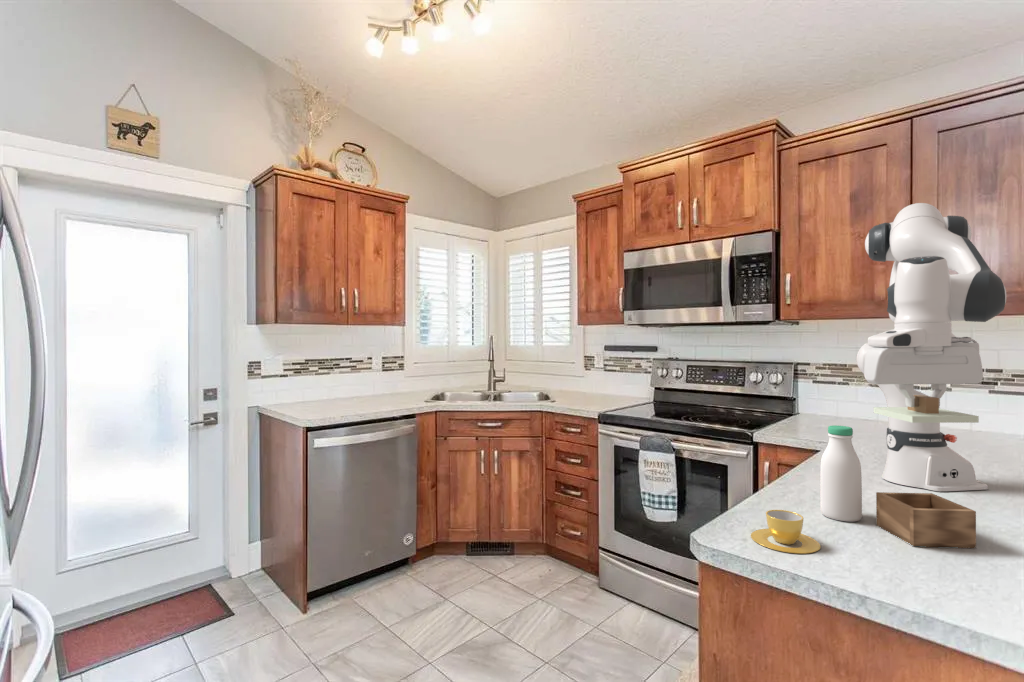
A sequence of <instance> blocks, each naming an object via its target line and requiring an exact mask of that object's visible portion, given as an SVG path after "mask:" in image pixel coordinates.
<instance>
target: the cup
mask: <svg viewBox="0 0 1024 682" xmlns="http://www.w3.org/2000/svg"><path fill="white" fill-rule="evenodd" d="M765 519H766V525H767V528H761V529H757V530H756V529H755V530H754V531H752V532H751V533H750V538H751V539H752V540H753V541H754V542H755V543H757V544H759V545H761V546H763V547H765V548H768V549H771V550H773V551H774V550H775V551H777V552H784V553H789V554H812V553H816V552H818V551H820V549H821V544H820V542H819V541H817V540H816V539H814V538H812V537H810V536H809V535H806V534H803V533H802V531H803V527H804V516H802V515H801V514H800V513H797V512H794V511H790V510H786V509H785V510H784V509H769V510H767V511H766V512H765ZM770 537H772V538H773V540H774V541H775V542H777V543H780V544H781V545H782V544H783V545H789V546H791V545H794V544H796V543H797V541H799V542H800V543H801V542H802V543H801V546H797V547H788V546H781V545H777V544H775V543H773V542H771V541H770V540H769V538H770Z"/></svg>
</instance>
